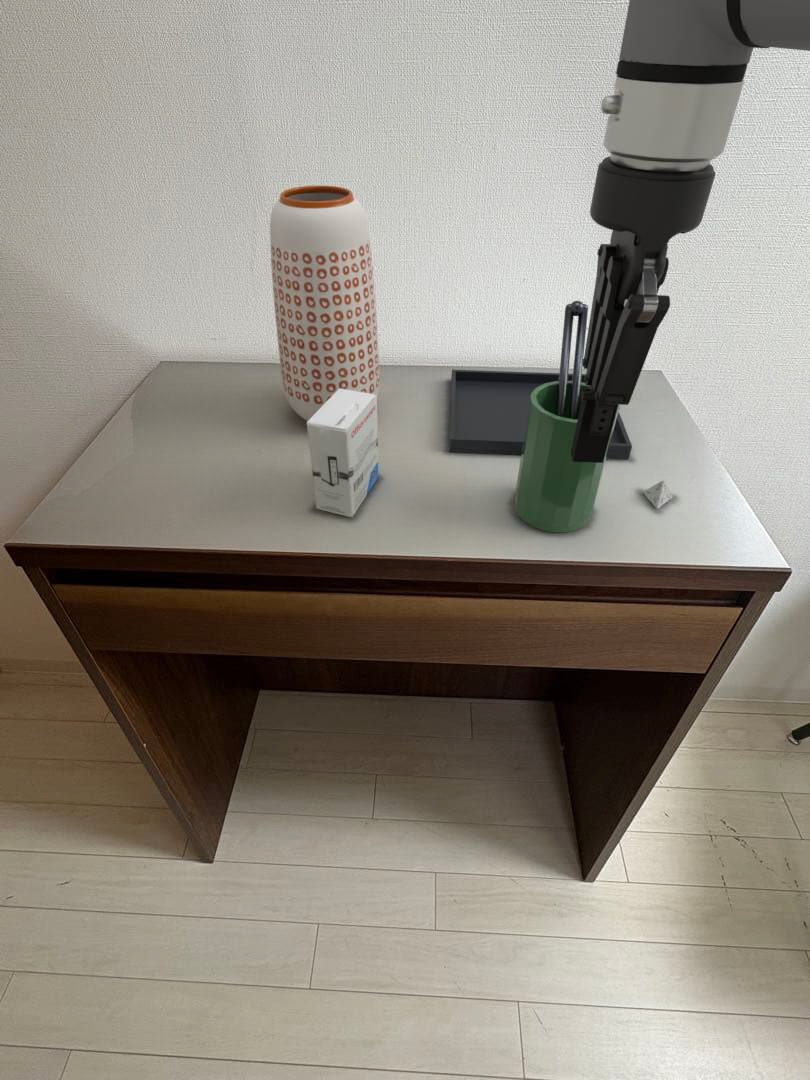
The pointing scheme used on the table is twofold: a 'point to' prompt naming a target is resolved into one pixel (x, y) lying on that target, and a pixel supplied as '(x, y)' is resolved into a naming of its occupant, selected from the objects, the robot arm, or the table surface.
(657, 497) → the tetrahedral die
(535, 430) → the cup
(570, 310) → the tongs
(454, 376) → the tray
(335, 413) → the ink box
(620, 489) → the table surface
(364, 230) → the vase
